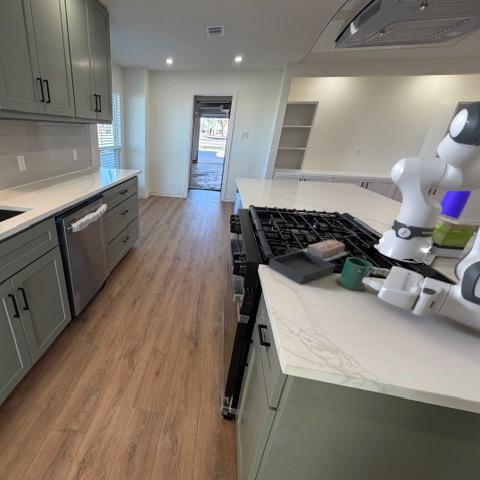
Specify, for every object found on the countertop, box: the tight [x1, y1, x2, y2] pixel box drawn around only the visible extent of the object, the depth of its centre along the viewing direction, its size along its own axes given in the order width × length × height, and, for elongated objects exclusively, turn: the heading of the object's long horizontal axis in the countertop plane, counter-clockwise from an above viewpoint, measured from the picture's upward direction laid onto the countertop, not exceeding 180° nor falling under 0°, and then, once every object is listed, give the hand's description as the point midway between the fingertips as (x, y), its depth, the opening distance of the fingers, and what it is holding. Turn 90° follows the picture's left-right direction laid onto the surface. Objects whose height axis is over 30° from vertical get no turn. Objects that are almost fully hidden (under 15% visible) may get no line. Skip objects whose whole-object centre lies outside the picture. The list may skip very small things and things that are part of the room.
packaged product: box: [299, 238, 349, 262], centre depth 103 cm, size 18×5×10 cm
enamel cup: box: [338, 256, 374, 292], centre depth 82 cm, size 7×7×8 cm
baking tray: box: [268, 249, 336, 285], centre depth 92 cm, size 18×13×3 cm
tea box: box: [430, 214, 479, 259], centre depth 109 cm, size 15×10×15 cm
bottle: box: [440, 190, 472, 219], centre depth 127 cm, size 8×8×30 cm
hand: (366, 273), depth 79 cm, fingers open, 8 cm apart
